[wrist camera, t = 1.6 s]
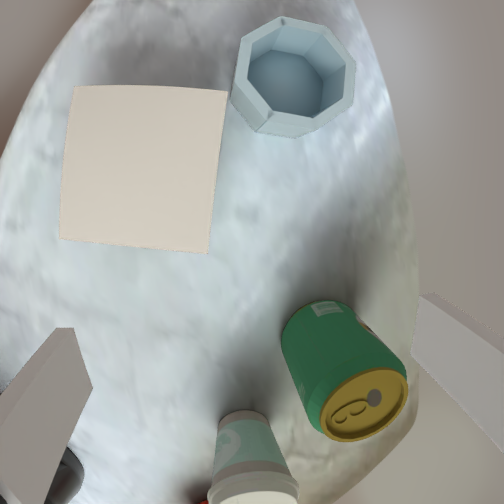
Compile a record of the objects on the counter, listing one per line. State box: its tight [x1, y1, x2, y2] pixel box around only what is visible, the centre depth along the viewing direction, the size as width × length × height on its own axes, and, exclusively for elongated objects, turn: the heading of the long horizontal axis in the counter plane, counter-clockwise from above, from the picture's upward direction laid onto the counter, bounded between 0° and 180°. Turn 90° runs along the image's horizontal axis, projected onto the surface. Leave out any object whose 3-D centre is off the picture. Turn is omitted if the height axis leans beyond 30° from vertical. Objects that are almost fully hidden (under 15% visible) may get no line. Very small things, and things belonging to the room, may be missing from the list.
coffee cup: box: [207, 410, 299, 504], centre depth 27 cm, size 8×8×12 cm
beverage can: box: [281, 300, 408, 442], centre depth 25 cm, size 8×8×12 cm
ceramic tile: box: [59, 85, 228, 254], centre depth 21 cm, size 11×11×2 cm
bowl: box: [230, 16, 356, 139], centre depth 22 cm, size 8×8×6 cm
